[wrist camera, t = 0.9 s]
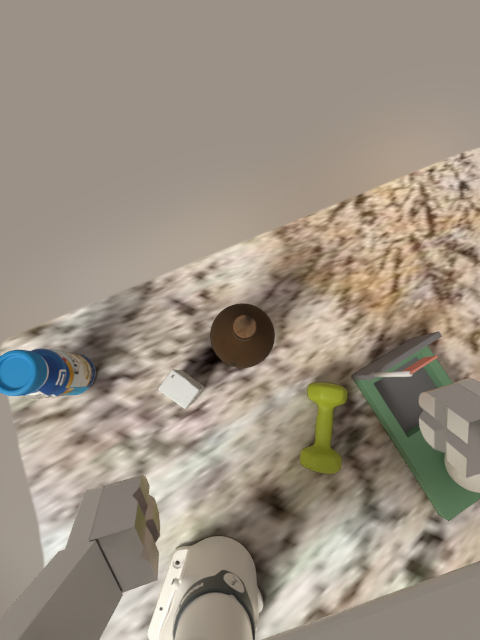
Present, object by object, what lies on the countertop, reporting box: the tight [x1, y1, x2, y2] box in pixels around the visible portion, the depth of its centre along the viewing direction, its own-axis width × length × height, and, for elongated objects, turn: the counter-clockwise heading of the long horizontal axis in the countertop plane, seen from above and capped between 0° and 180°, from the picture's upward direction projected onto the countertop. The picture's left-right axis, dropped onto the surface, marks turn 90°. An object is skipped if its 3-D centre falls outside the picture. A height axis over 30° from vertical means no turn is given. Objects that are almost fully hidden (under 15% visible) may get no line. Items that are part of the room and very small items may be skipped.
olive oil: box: [210, 304, 275, 368], centre depth 57 cm, size 11×11×25 cm
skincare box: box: [158, 369, 204, 409], centre depth 62 cm, size 6×4×12 cm
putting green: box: [352, 332, 480, 521], centre depth 58 cm, size 31×16×21 cm, turn 30°
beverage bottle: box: [0, 349, 96, 399], centre depth 58 cm, size 8×8×20 cm
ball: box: [444, 454, 480, 493], centre depth 60 cm, size 9×9×9 cm
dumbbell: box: [300, 382, 347, 474], centre depth 64 cm, size 16×8×7 cm, turn 171°
